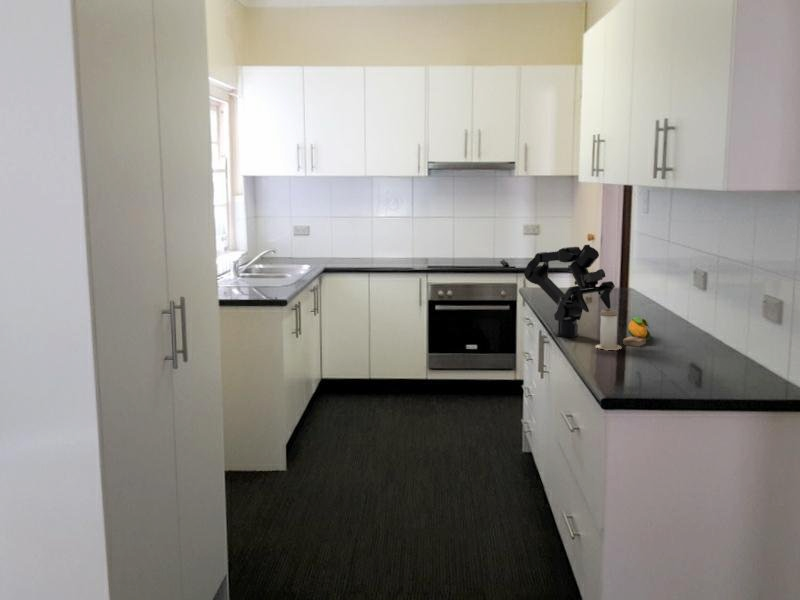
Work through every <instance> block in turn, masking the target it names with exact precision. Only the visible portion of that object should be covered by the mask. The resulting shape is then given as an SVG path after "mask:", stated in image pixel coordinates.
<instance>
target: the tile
mask: <svg viewBox="0 0 800 600" xmlns="http://www.w3.org/2000/svg"><path fill="white" fill-rule="evenodd" d="M646 341H647V340H646V338H639V337H632V336H628V337H625V338H623V341H622V342H623V343H622V344H624V345H625V346H631V347H641V346H643V345H645V344H646V343H647V342H646ZM624 345H623V346H624Z"/></svg>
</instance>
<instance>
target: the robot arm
mask: <svg viewBox="0 0 800 600" xmlns="http://www.w3.org/2000/svg"><path fill="white" fill-rule="evenodd" d="M599 256H600V253H599V251H598V250H597V249H596V248H594V247H592V246H591V245H590V244H584V245H583V246H582V249H580V247H579V246H566V247H565V246H564V247H562V248H560V249H558V250H557V251H556V250H555V251H549V252H547V251H543V252H542V251H541V252H537V253H535V256H534V258H532V259H531V260H530V261H529V262H528V263H527V265H526V267H525V269H524V272H523V275H524V277H525V279H526V281H529V282H530V283H531V284H534V285H537V286H538V287H540V288H541V290H543V291H544V293H546V295H547V296H548V297H549V298H550V299H551V300H552V301H553V302H554V303H555V304H556V305H557V307H556V309H557V310H556V311H555V313H554V320H555V321H557V322H558V323H557V324H558V326H557V327H558V328H557V334H555V337H560V338H562V337H563V338H571V339H572V338H574V337H576V336H579V332H578V331H579V330H578V328H579V325H578V323H577V322H578V321H580V320H581V318H582V314H583V311H584V312H586V313H589V312H590V310H589V307H588V305H587V302H586V300H585V299H584V295H586V294H587V295H588V294H593V293H594V294H595V293H598V295H599V298H600V299H601V301H602V302H603V304H604V305H605V307H606V309H611V307H612V306H611V297H610V295H611V292H612V291H613V290H614V289H615V286H616V285H615V284H614V281H611V280H608V281H603V279H604V278H606V272H605V271H604V269H603V268H600V269H598V270H596V271H591V272H589V270H588V268H591V266H593V264H594V263H595V262H596V261H597V260H598V258H599ZM555 261H559V262H560V263H566V264H567V263H571V264H569V265H567V269H566V273H571V274H572V276H573V278H574V280H575V281H574V285H575V286H569V287H568V289H567V290H566V292H565V293H564V292H563V290H561V289H560V288H559V286H557V284H556V283H554V281H553V280H552V279H550V277H549V269H550V267H549V262H555ZM541 263H543V264H542V265H540V264H541ZM599 281H602V283H601V284H600V285H599V286H597V285H598V284H599Z"/></svg>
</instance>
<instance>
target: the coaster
mask: <svg viewBox="0 0 800 600" xmlns="http://www.w3.org/2000/svg"><path fill="white" fill-rule="evenodd" d="M597 348H598V349H597ZM595 349H597V350H600V349H604V350H603V351H608V350H614V351H619V349H620V350H621V349H622V346H621V345H619V344H616V347H615V348H603V347H600V343H599V344H596V345H595Z"/></svg>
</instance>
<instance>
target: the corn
mask: <svg viewBox="0 0 800 600" xmlns="http://www.w3.org/2000/svg"><path fill="white" fill-rule="evenodd" d="M647 321H648V320H646V319H644V318H641V317H637V316H636V317H632V318H631V320H630V322H629V324H628V332H629V333H628V334H630V337H639V338H646V341H648V340H650V338H651V333H650V331H649V330H648V328H650V326H649V323H648V322H647Z"/></svg>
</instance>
